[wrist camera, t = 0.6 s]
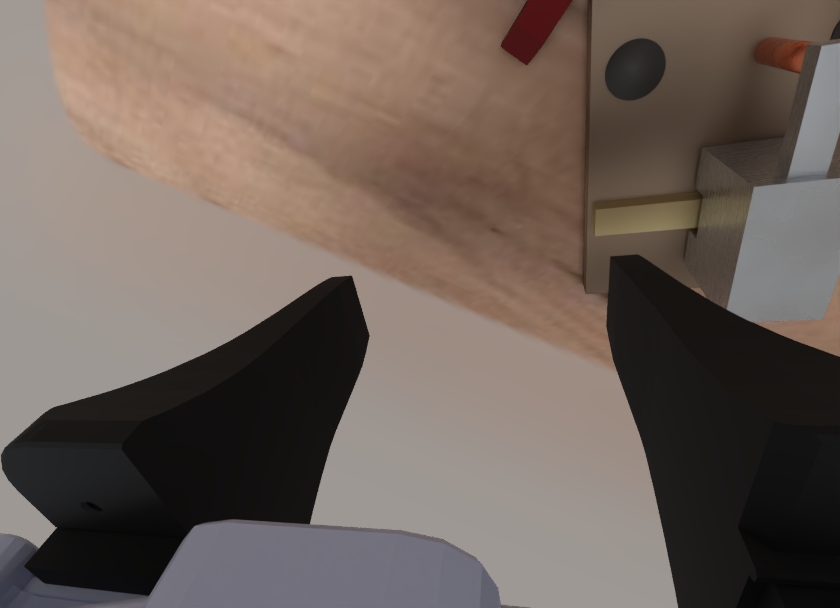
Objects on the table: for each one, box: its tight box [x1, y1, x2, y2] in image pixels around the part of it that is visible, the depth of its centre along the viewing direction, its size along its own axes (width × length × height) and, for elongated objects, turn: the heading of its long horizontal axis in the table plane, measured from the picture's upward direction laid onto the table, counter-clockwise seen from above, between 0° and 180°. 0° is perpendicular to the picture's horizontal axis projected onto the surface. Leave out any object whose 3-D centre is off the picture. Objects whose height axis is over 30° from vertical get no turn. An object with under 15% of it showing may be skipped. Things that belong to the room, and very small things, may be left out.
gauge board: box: [583, 0, 840, 294], centre depth 16 cm, size 13×10×6 cm
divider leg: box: [684, 37, 840, 322], centre depth 15 cm, size 8×3×4 cm, turn 10°
